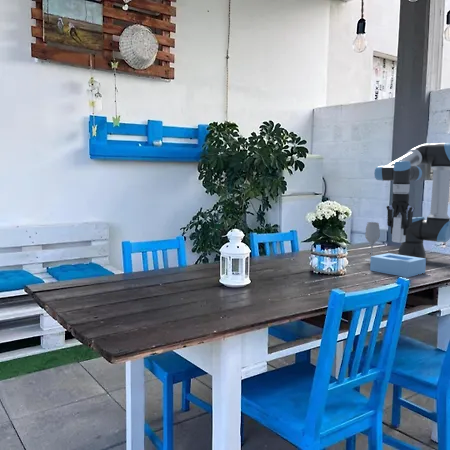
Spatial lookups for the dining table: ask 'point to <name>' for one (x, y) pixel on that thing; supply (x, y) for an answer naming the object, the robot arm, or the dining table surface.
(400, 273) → the well block
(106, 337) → the dining table surface
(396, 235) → the light grey tall block
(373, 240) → the wineglass
